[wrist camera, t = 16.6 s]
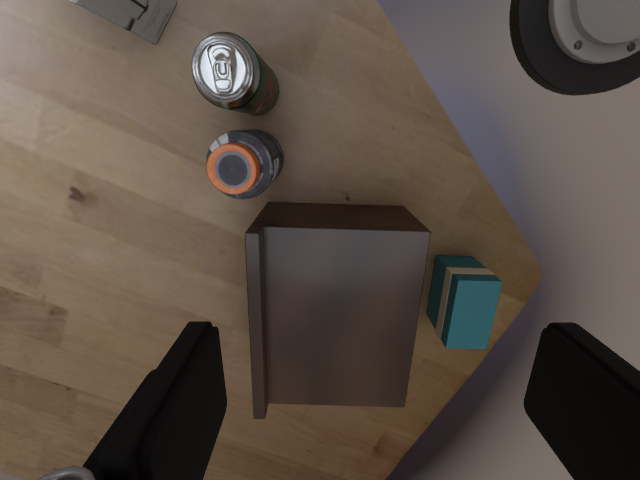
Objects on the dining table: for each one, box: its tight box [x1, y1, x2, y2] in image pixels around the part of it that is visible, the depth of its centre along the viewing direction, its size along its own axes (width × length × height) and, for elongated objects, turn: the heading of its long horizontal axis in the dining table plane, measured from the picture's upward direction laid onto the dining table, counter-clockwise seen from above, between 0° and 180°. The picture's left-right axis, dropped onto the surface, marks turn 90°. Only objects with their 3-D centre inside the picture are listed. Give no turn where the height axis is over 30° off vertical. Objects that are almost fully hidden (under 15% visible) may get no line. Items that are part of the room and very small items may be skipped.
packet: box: [427, 256, 502, 349], centre depth 38 cm, size 5×8×7 cm, turn 178°
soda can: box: [191, 32, 279, 115], centre depth 28 cm, size 5×5×12 cm
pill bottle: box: [206, 130, 283, 199], centre depth 31 cm, size 6×6×11 cm
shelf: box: [245, 202, 431, 419], centre depth 35 cm, size 16×20×12 cm
